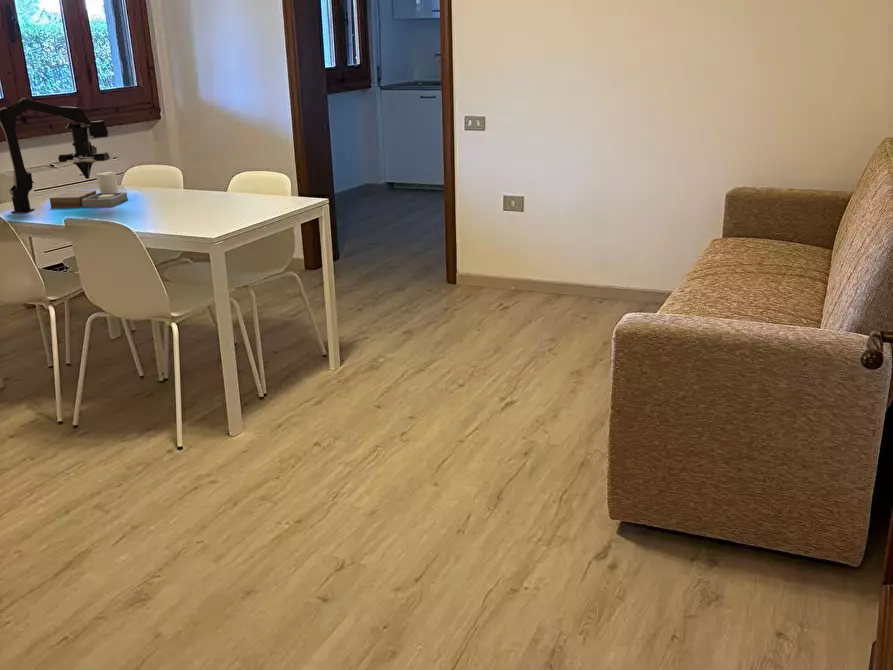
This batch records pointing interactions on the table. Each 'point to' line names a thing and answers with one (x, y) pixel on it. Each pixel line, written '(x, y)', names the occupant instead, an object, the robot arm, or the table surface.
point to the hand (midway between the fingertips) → (87, 178)
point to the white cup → (107, 182)
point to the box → (104, 200)
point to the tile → (106, 196)
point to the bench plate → (70, 199)
